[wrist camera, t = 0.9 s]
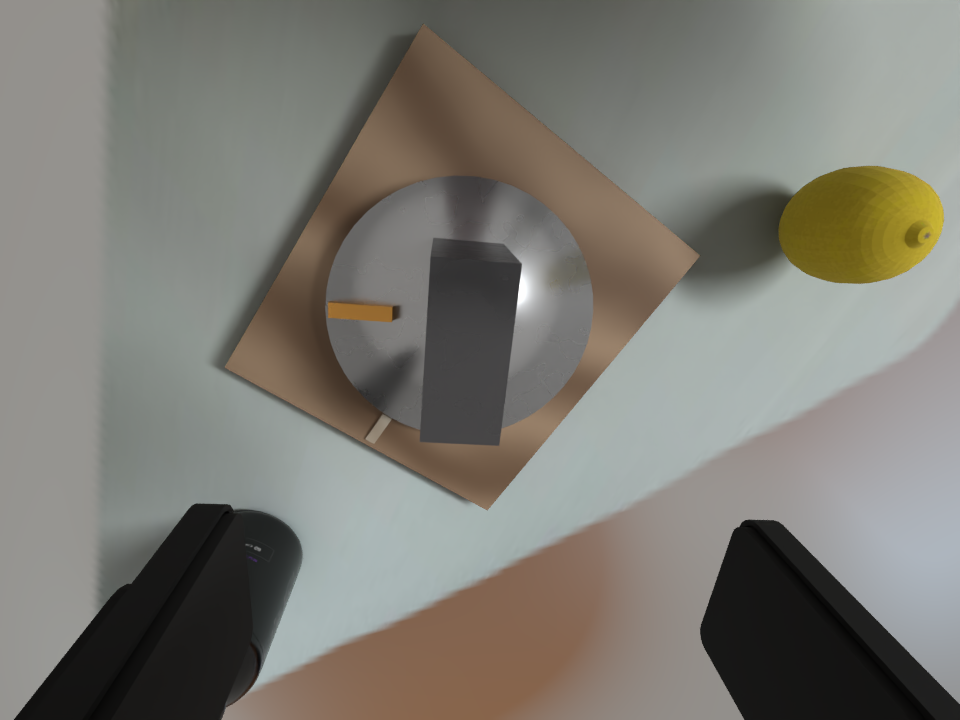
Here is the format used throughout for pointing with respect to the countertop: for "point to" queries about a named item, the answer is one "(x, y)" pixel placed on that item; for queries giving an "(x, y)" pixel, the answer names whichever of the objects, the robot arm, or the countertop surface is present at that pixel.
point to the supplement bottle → (265, 589)
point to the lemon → (861, 224)
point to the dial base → (439, 153)
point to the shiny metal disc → (459, 307)
